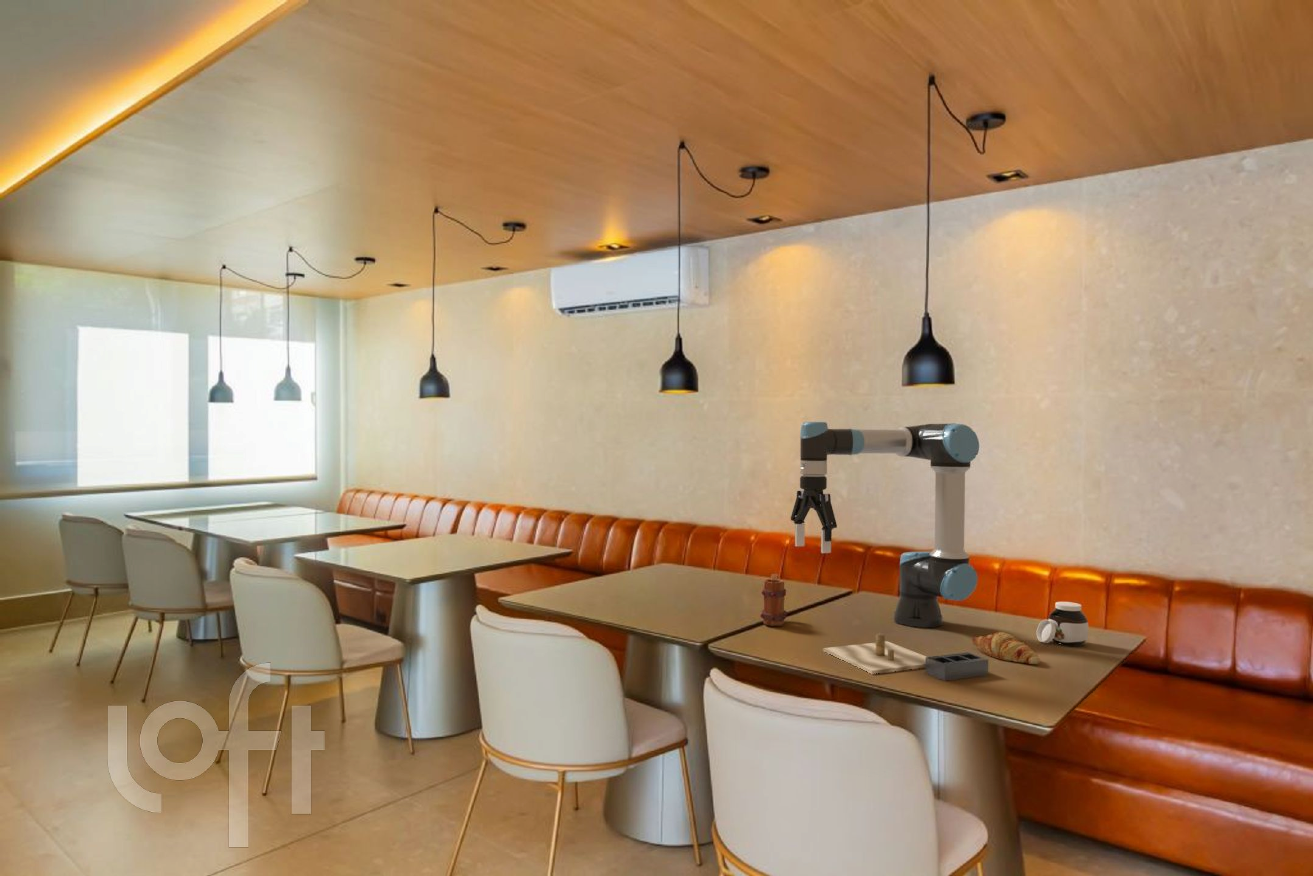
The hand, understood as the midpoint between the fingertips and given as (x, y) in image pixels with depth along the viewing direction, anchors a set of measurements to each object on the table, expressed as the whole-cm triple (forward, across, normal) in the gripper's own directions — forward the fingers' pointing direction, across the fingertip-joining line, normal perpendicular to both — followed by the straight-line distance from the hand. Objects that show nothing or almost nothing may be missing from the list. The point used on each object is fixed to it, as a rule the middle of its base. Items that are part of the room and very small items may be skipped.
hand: (812, 549), depth 225 cm
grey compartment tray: (+28, +35, +21) cm, 49 cm away
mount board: (+28, +17, +11) cm, 34 cm away
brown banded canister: (+28, -28, +4) cm, 40 cm away
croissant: (+28, +27, +45) cm, 60 cm away
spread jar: (+28, +22, +72) cm, 80 cm away
